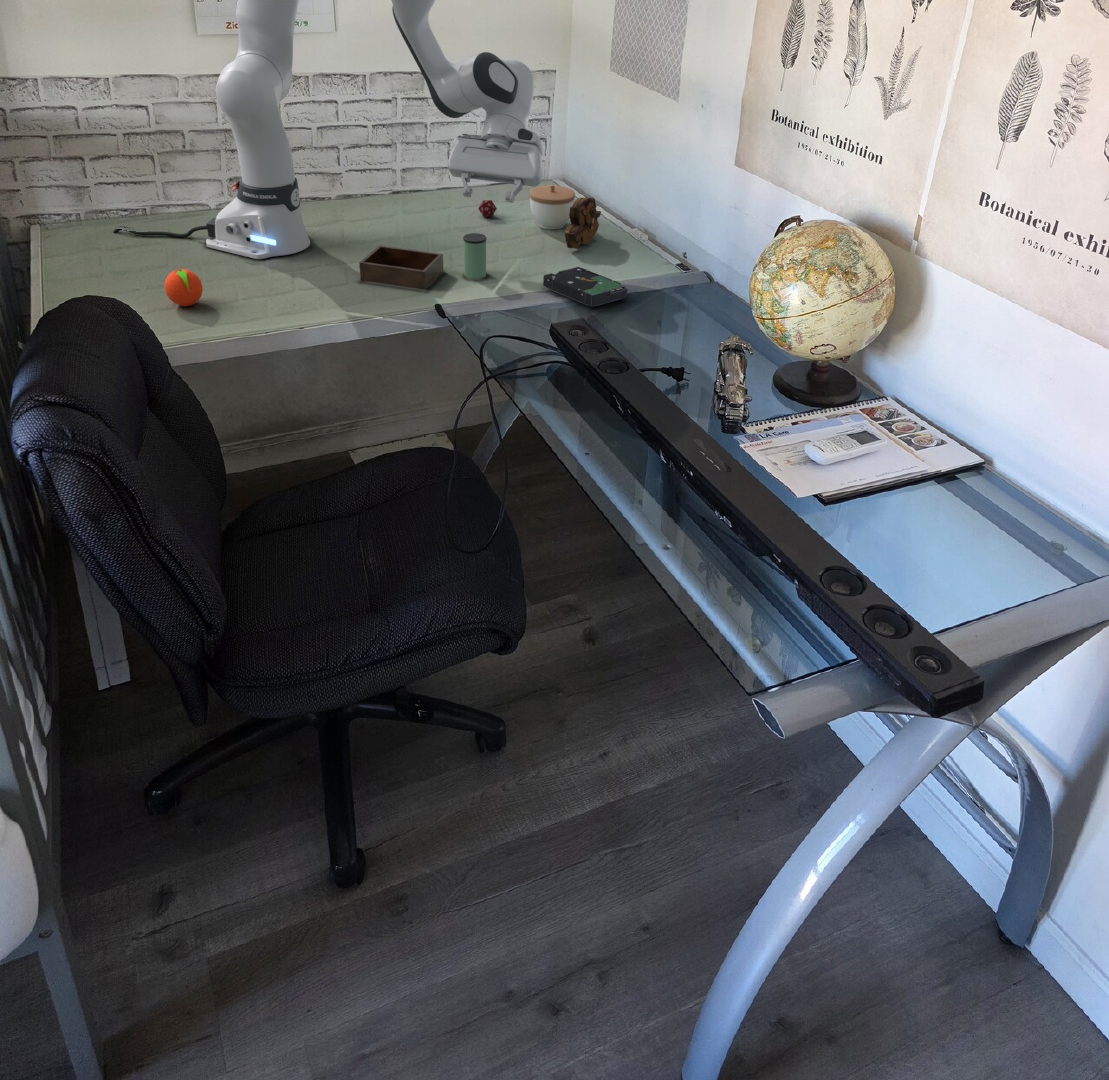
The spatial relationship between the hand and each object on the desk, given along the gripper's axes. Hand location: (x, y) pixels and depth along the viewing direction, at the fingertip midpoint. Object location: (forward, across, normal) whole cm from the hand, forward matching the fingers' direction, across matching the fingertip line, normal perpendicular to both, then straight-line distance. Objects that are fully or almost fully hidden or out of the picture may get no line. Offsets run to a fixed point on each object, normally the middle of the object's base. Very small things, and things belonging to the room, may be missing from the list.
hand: (487, 198), depth 209 cm
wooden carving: (-3, +17, +22) cm, 28 cm away
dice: (-9, -9, +29) cm, 32 cm away
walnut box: (+20, -14, -1) cm, 25 cm away
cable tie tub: (+16, 0, +3) cm, 16 cm away
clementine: (+40, -48, -20) cm, 65 cm away
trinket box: (-9, +7, +29) cm, 31 cm away
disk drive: (+17, +24, +2) cm, 30 cm away
